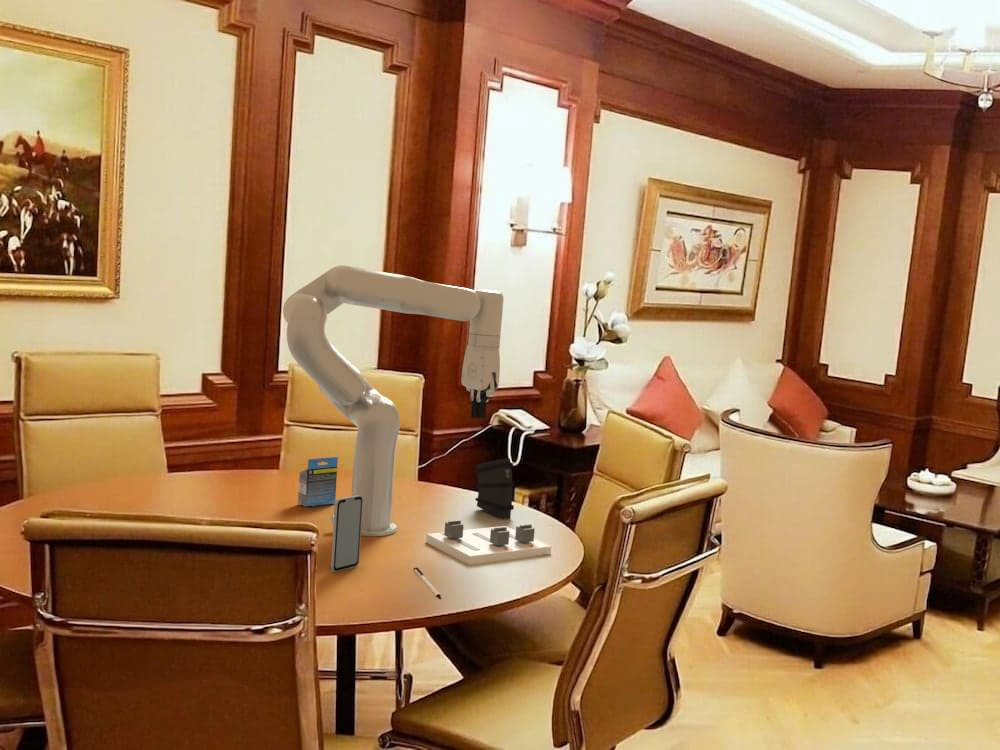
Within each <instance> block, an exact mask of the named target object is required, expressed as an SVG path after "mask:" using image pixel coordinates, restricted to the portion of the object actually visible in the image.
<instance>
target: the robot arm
mask: <svg viewBox="0 0 1000 750" xmlns="http://www.w3.org/2000/svg"><path fill="white" fill-rule="evenodd" d="M343 304H347V305H353V306H359V307H364V308H372V309H378V310H383V311H384V310H385V311H388V312H389V311H390V312H395V313H397V312H398V313H402V314H409V315H410V314H411V315H413V314H414V315H423V316H429V317H436V318H440V319H441V318H442V319H446V320H454V321H460V322H467V321H469V329H468V330H469V331H468V332H469V333H468V344H467V345H466V348H465V352H464V358H463V363H462V371H461V379H460V380H461V382H460V383H461V385H462V386H463V387H465V388H466V389H465V390H466V391H467V392H469V393H470V401H471V407H470V418H473V419H486V415H487V403H488V402H489V399H490V397H495V394H496V392H495V391H497V390H498V388H499V383H500V375H501V374H500V373H501V372H500V371H501V369H500V367H501V363H500V362H501V361H500V360H501V358H500V357H501V356H500V345H501V335H502V320H503V311H504V310H503V309H504V295H503V293H502V292H500V291H497V290H493V289H492V290H490V289H476V290H475V289H470V288H467V287H460V286H453V285H447V284H441V283H436V282H430V281H427V280H422V279H418V278H416V277H412V276H409V275H408V276H407V275H403V274H398V273H391V272H385V271H380V270H379V271H378V270H374V269H370V268H369V269H368V268H363V267H357V266H350V265H342V264H341V265H336V266H334V267H332V268H330V269H329V270H327V271H325V272H324V273H322V274H321V275H320V276H318V277H316V278H315V279H314V280H312V281H310V282H309V283H308V284H306V285H305V286H303V287H301V288H299V289H298V290H297V291H295V292H294V293H292V294H291V295H290V296H289V297H288V298H286V299H285V302H284V304H283V307H282V313H283V317H284V320H285V321H286V323H287V326H286V327H287V328H286V341H287V342H286V343H287V347H288V350H289V352H290V354H291V356H292V358H293V359H294V361H295V362H296V363H297V364H298V365H299V366H300V367H301V369H302V370H304V372H305V373H306V374H307V376H308V377H310V378H311V379H312V380H313V381H314V383H316V385H317V386H318V388H319V391H320V392H321V393H322V395H323V396H325V398H326V399H328V400H329V402H330V403H331V404H332V405H333V406H334V407H335V408H337V410H339V411H340V413H342V414H343V415H344V416H345V417H346V418H347V419H348V420H349V421H350V422H351V423H352V424H353V425H355V427H357V434H356V439H355V445H354V453H353V469H352V471H353V472H352V483H351V484H352V486H351V496H356V495H360V496H362V497H363V508H362V523H361V537H362V536H364V537H385V536H391V535H393V534H395V533H397V530H398V528H397V527H398V525H397V524H396V523H395V522H393V521H392V511H393V510H392V508H393V493H394V479H395V463H396V453H397V444H398V439H399V438H398V437H399V433H400V428H401V416H400V411H399V409H398V407H397V406H396V404H395V403H394V402H393V401H392V400H390V399H389V398H388V397H386V396H384V395H382V394H381V393H380V392H378V391H377V390H376V388H374V387H373V386H372V385H371V384H370V383H369V382H368V380H366V379H365V377H364V375H363V374H362V372H361V371H360V370H359V368H358V367H356V366H355V365H353V364H352V363H350V361H348V359H346V358H345V357H344V356H343V355H342V354H341V352H339V351H338V349H336V347H335V346H334V345H333V344H332V343H331V342H330V341H329V339H328V338H327V336H326V333H325V326H326V322H327V318H328V317H327V316H328V315H329V314H330V313H332V312H334V311H335V310H336V309H338V308H339V307H340V306H342V305H343ZM330 523H331V524H334V514H333V515H331V516H330Z"/></svg>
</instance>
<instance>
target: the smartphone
mask: <svg viewBox="0 0 1000 750" xmlns="http://www.w3.org/2000/svg"><path fill="white" fill-rule="evenodd" d="M362 508H363V497H362V496H360V495H356V496H352V495H351V496H345V497H341V498H337V499H335V504H334V510H333V511H334V512H333V513H334V514H333V515H334V524H333V525H332V526H333V527H332V542H331V543H332V544H331V559H330V561H331V562H330V569H331V570H330V571H332V572H334V573H337V572H341V571H345V570H348V569H349V570H350V569H353V568H357V567H358V566H359V563H360V553H361V551H360V550H361V539H362V538H361V537H362V536H361V523H362Z"/></svg>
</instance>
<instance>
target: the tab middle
mask: <svg viewBox="0 0 1000 750" xmlns="http://www.w3.org/2000/svg"><path fill="white" fill-rule="evenodd" d="M495 527H496V528H494V529H491V534H490V542H491V543H493V544H495V545H497V546H499V545H508V544H509V532H510V531H508V530H507V527H508V526H507V527H499V526H495Z"/></svg>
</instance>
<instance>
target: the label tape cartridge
mask: <svg viewBox="0 0 1000 750" xmlns="http://www.w3.org/2000/svg"><path fill="white" fill-rule="evenodd" d="M338 459H339V456H334V457H333V456H332V457H319V458H308V460H307V469H304V470H302V471H300V472H299V478H298V479H299V481H298V495H297V496H298V497H297V498H298V499H297V504H298V503H299V504H301V505H303V506H305V507H304V508H309V507H308V506H312V507H316V506H317V507H318V505H319V506H326V505H335V504H334V503H335V502H336V500H337V499H336V498H337V497H336V496H337V495H336V494H337V478H338V477H337V475H338ZM322 462H323V463H325V464H320V463H322ZM319 464H320V465H319ZM299 504H298V505H299ZM301 505H300V506H301ZM303 506H302V507H303ZM306 506H307V507H306Z"/></svg>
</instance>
